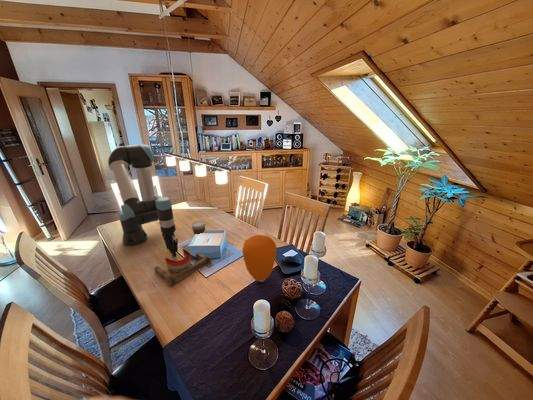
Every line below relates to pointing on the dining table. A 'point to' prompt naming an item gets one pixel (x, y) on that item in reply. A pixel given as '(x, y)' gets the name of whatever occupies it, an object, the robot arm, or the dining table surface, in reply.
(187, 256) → the toy
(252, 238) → the orange egg-shaped ornament
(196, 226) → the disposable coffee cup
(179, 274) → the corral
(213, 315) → the dining table surface
